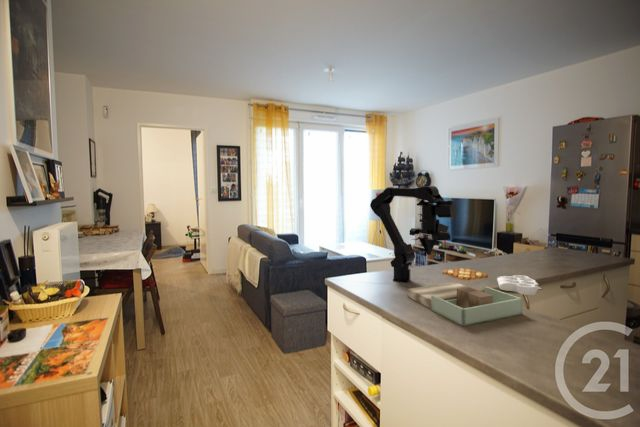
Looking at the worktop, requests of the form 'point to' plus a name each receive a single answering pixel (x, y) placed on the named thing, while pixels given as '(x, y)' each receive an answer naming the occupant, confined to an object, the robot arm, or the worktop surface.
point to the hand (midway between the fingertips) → (428, 254)
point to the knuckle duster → (518, 284)
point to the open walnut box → (472, 297)
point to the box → (479, 308)
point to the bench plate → (434, 292)
